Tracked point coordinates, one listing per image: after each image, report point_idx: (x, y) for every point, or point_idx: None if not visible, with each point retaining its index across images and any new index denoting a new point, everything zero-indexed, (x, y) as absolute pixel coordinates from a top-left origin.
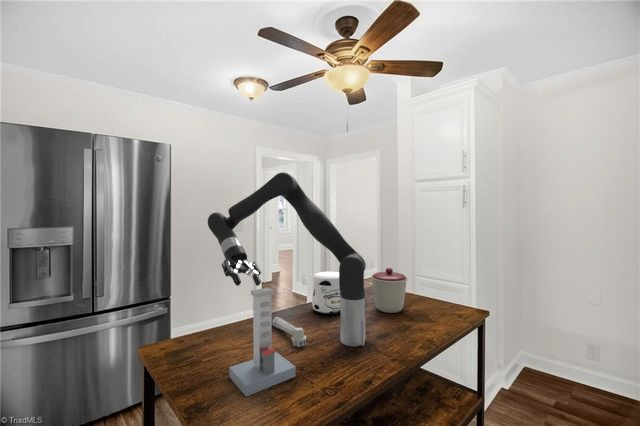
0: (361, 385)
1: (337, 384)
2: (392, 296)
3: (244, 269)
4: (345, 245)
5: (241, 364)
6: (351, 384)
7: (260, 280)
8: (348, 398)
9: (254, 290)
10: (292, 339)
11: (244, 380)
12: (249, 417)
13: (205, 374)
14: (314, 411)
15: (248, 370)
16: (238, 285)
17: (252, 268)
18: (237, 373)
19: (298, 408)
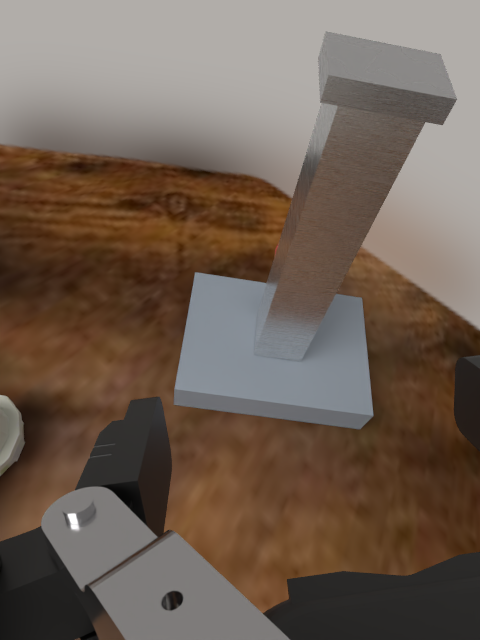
0: (104, 171)
1: (140, 205)
2: None
3: (390, 590)
4: None
5: (330, 402)
6: (117, 186)
7: (108, 433)
8: (168, 170)
9: (434, 87)
10: (15, 448)
11: (357, 318)
12: (370, 260)
13: (429, 510)
14: (252, 193)
15: (325, 352)
16: (460, 409)
17: (162, 549)
18: (362, 362)
19: (272, 216)
